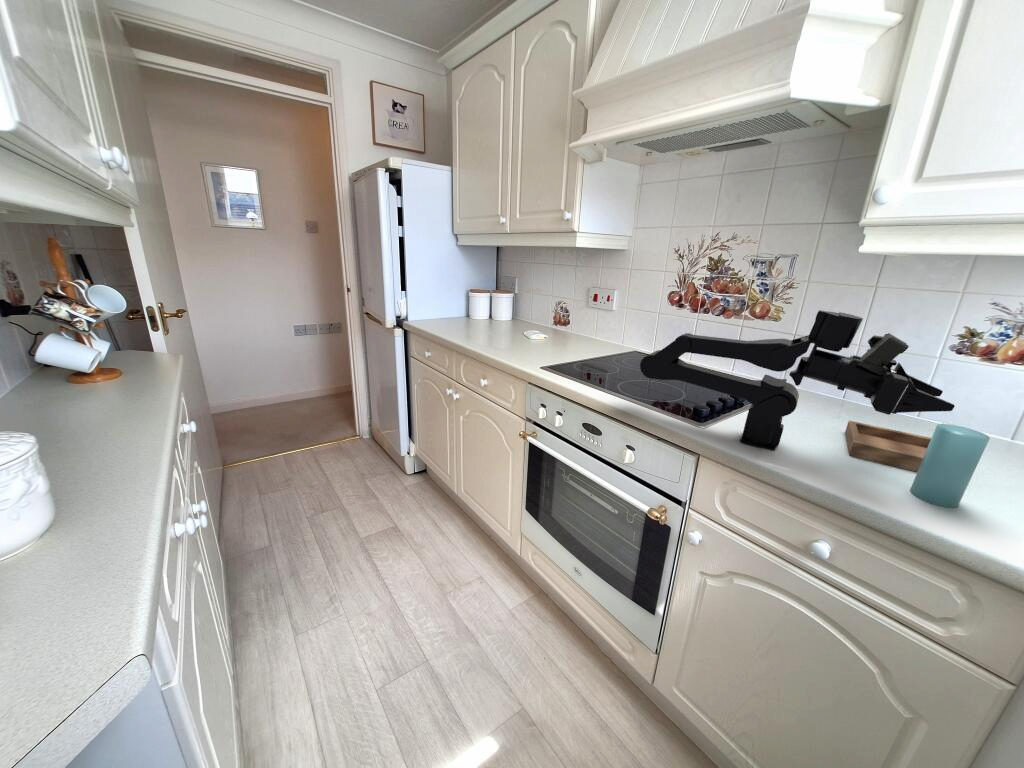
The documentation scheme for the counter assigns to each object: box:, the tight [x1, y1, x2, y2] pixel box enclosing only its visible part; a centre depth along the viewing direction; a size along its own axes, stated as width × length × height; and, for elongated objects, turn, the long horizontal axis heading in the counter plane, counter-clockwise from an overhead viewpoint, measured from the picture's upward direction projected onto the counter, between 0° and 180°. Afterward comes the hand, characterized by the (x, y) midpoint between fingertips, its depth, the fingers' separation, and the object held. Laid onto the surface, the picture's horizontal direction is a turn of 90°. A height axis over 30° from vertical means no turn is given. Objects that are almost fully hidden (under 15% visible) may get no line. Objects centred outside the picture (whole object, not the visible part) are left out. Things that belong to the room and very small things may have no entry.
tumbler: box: [909, 423, 991, 509], centre depth 68 cm, size 6×6×12 cm
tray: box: [844, 420, 932, 473], centre depth 85 cm, size 16×14×3 cm
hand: (947, 400), depth 69 cm, fingers open, 9 cm apart
